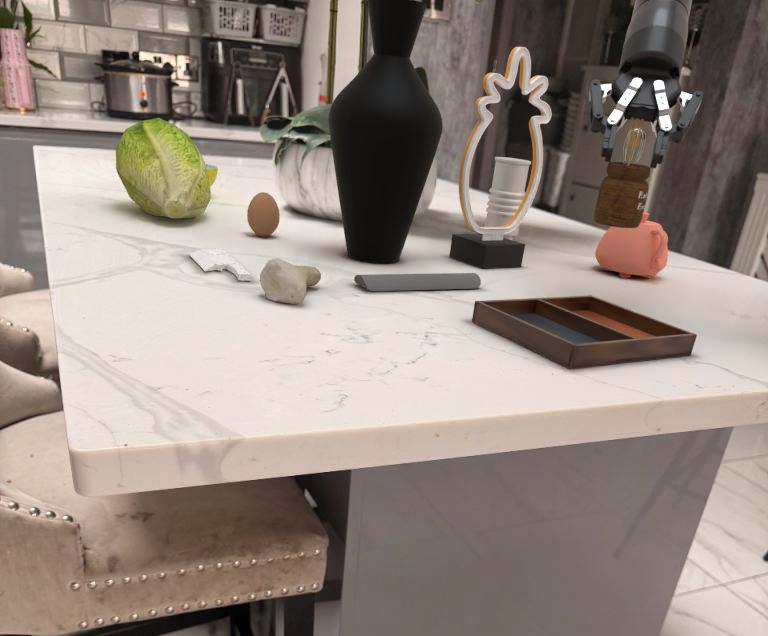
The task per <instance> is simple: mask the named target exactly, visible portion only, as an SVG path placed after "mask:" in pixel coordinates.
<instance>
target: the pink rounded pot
mask: <svg viewBox="0 0 768 636" xmlns="http://www.w3.org/2000/svg"><path fill="white" fill-rule="evenodd" d="M649 217H650V213H648V212H645V211H644V212H643V216H642V220H641V222H640V225H639V226H638V227H636V228H620V227H613V226H609V228H608V229H607V230H606V231H605V233H604V234H603V235H602V237H601V238H600V240H599V242H598V244H597V245H596V246H597V247H596V249H595V252H594V256H595V259H596V261H597V264H598V266H600V267H601V268H602V270H603V271H607V272H617V273H618V277H621V278H625V279H626V278H627V279H628V278H631V275H633V276H640V277H642V278H646V279H647V278H648V279H652V278H653V277H652V276H656V275H658V274H659V273H660V272H661V271H663V270H664V269H665V268H666V267H667V264H668V258H669V257H668V256H669V249H668V248H669V247H668V243H669V235H668V234H667V232H666V231H665V230H664V228H663V226H662V224H660V223H658V222H655V221H651V220H648V218H649Z"/></svg>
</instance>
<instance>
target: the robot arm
mask: <svg viewBox="0 0 768 636" xmlns="http://www.w3.org/2000/svg"><path fill="white" fill-rule="evenodd" d="M692 4H693V0H635V2H634V6H633V10H632V15H631V20H630V22H629V25H628V27H627V30H626V34H625V38H624V42H623V46H622V53H621V56H620V62H619V66H618V70H617V74H616V75H617V76H616V77H615V78H614V79H613V80H612V82H611V83H603V84H602V82H601V80H600V79H598V78H594V79H592V80H591V81H590V85H589V90H588V95H587V103H588V105H587V106H588V113H589V114H588V117H589V126H590V127H589V128H590V131H591V133H593V134H598V133H601V134H602V135H603V140H602V143H601V148H600V153H599V154H600V156H601V157H602V158H604V160H603V161H604V162H605V163H609V162H612V161H611V160H612V157H613V152H614V149H615V148H614V147H615V143H616V139H617V133H618V131H619V130H620V129H622V128H623V126H624V125H625V124H626V122H627V121H628V120H630V121H631V118H634V120H633V121H636V119H637V118H638V119H639V121H641V119H644V121H643V122H647V123H648V122H649V123H650V126H651V130H652V132H653V133H654V136H655V141H654V144H653V148H652V149H653V150H652V155H651V160H650V165H649V167H650V169H657V166H658V165H662V164H663V162H664V160H665V159H666V156H667V152H668V145H669V143H670V142H673V143H675V144H680V143H682V142H683V140H684V139H685V137H686V134H687V133H688V131H689V130H690V128H691V125H692V123H693V121H694V119H695V117H696V116H697V113H698V112H699V109H700V106H701V103H702V101H703V98H704V94H705V93H704V92H703V91H702V90H699V89H698V90H695V91H694V92H693V93H692V94H691V93H688V92H685V91H683V87H682V86H681V84H680V79H681V74H682V69H683V64H684V58H685V53H686V47H687V42H688V35H689V20H690V15H691V9H692V6H693V5H692ZM609 96H610V98H611V100H612V102H613V103H614V104H615V107H614V109H613V111H612V112H611V114H610V115H609V116H607V115H605V112H604V103H605V102H606V100H607V98H608V97H609ZM677 104H678V105H679V106H680V108H679V111H680V112H681V116H680V118H679V120H678V121H677V123H673V124H672V120H671V115H670V111H671V109H673V107H675V106H676V105H677Z"/></svg>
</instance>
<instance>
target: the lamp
mask: <svg viewBox="0 0 768 636" xmlns="http://www.w3.org/2000/svg"><path fill="white" fill-rule="evenodd" d="M518 70H519V77H518V78H519V79H518V80H519V81H518V85H519V88H520V90H521V94H522V95H523V96H527V95H529V97H528V103H529V104H531V105H532V106H534V107H535V108H536V109H538V111H540V115H533V116H531V117H530V118H529V122H528V129H529V134H530V138H531V144H532V163H531V173H530V177H529V182H528V184H527V188H526V191H525V196H524V198H523V200H522V202H521V204H520V206H519V208H518V210H517V212H516V213H515V215H514V216H513V218H512V219H511V221H510V222H509V223H508V224H507V225H506V226H502V227H484V226H479V225H478V224H477V221H476V219H475V216H474V212H473V209H472V204H471V197H470V175H471V167H472V162H473V158H474V155H475V152H476V150H477V147H478V145H479V142H480V140H481V138H482V136H483V134H484V133H485V131H486V129H487V128H488V126H489V125H490V124H491V122H492V121H493V119H494V114H493V113H492V112H491V111H489V109H487V107H486V106H487V105H488V104H498V103H500V101H501V100H502V99H501V95H500V92H499V91H498V90H497V88H496V86H495V84H496V85H497V86H499V87H501V88H502V89H504V90H511V89H512V88H513V87H514V84H515V82H516V79H517V74H518ZM531 74H532V58H531V54H530V51H529V49H528V48H527V47H526V46H515V47H514V48H512V50H511V51H510V53H509V55H508V57H507V63H506V68H505V74H504V76H503V75H502V73H499V72H487V74H485V76H484V77H483V80H482V87H483V90H484V92H485V93H486V95H484V96H481V97H478V98H477V99H476V101H475V103H474V112H475V115H476V116H477V119H478V121H477V122H476V124H475V126H474V127H473V129H472V131H471V133H470V135H469V137H468V140H467V141H466V144H465V147H464V150H463V152H462V157H461V161H460V165H459V172H458V173H459V174H458V199H459V203H460V208H461V213H462V216H463V219H464V221H465V224H466V225H467V227H468V229H470V231H472V232H474V233H452V234H451V235H452V236H451V243H450V249H449V258H452V259H454V260H457V261H460V262H463V263H465V264H468V265H471V266H474V267H477V268H479V269H483V270H488V269H506V268H507V269H508V268H510V269H511V268H522V265H523V260H524V253H525V248H526V243H522V242H520V241H516V240H514V239H513V240H510V239H507V238H503V236H504V234H508V233H510V232H512V231H514V230H515V229H516V228H517V227H518V226H519V227H520V225H521V223H522V222H523V220H524V219H525V217H526V216H527V213H529V211H530V208H531V206H532V204H533V201H534V200H535V197H536V194H537V192H538V189H539V185H540V181H541V177H542V173H543V164H544V144H543V135H542V129H541V125H542V124H543V125H547V124H548V123H549V122H550V121H551V119H552V117H553V113H552V108H551V106H550V104H548V103H547V102H546V101H544V100H542V99H541V97H542V96H543V95H544V94H545V93H546V92H547V90H548V88H549V78H548V77H547V76H546V75H540V74H537V75H534V76H533V77H531ZM494 83H495V84H494Z"/></svg>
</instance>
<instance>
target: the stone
mask: <svg viewBox="0 0 768 636" xmlns="http://www.w3.org/2000/svg"><path fill="white" fill-rule="evenodd" d="M321 280H322V273H321V271H320V270H319V269H318V268H317V267H315V266H310V265H294V264H292V263H291V262H287V261H285V260H283V259H281V258H278V257H277V258H271V259H269V260H267V262H266V263H265V266H264V267H263V268H262V270H261V271H260V274H259V284H260V288H262V290H263V291H264V295H265V296H266V298H267V299H268V300H271V301H273V302H278V303H284V304H293V305H296V304H300V303H302V302H304V300H305V298H306V295H307V288H311V287H315V286H316V285H318V284H319V282H320V281H321Z"/></svg>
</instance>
